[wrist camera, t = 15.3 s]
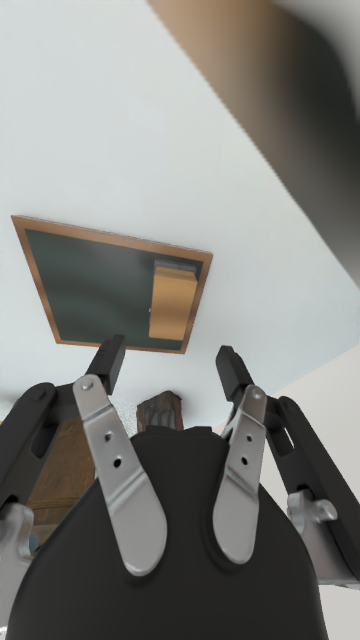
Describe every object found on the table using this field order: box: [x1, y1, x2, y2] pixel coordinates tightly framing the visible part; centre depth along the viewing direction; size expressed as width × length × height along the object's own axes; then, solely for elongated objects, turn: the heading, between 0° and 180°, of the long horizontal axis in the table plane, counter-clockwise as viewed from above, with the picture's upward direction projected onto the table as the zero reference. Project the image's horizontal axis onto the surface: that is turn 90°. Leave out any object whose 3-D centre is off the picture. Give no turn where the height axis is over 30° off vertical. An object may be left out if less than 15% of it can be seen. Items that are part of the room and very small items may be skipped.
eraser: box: [149, 258, 198, 340], centre depth 19 cm, size 9×5×5 cm, turn 170°
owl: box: [136, 391, 184, 433], centre depth 33 cm, size 13×13×20 cm
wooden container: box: [26, 417, 98, 557], centre depth 37 cm, size 15×15×22 cm
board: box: [11, 215, 213, 354], centre depth 23 cm, size 18×22×2 cm
